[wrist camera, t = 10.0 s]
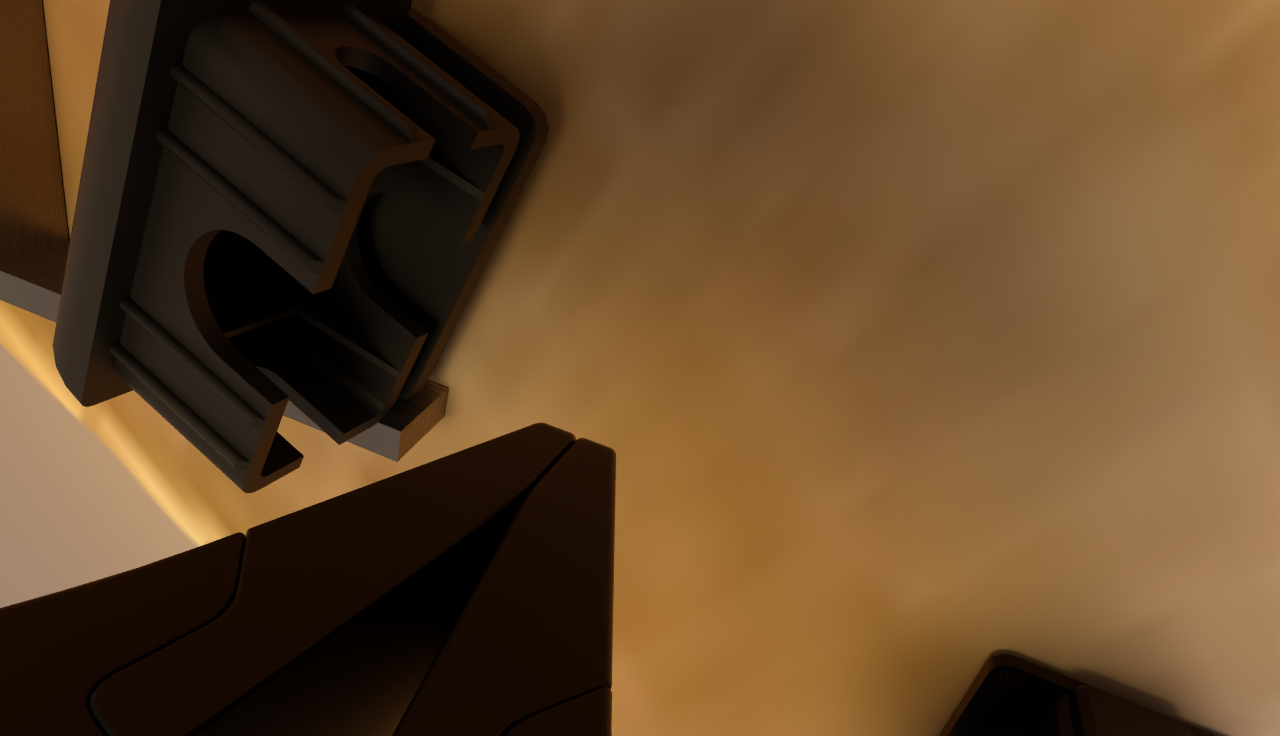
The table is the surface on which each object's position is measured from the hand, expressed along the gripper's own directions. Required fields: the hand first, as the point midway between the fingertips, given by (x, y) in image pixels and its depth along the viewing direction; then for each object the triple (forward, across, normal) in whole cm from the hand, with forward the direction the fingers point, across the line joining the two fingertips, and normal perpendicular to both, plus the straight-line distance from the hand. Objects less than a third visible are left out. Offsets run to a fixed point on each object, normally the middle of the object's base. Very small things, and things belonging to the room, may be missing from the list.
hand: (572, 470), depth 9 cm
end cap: (+12, +9, +3) cm, 16 cm away
